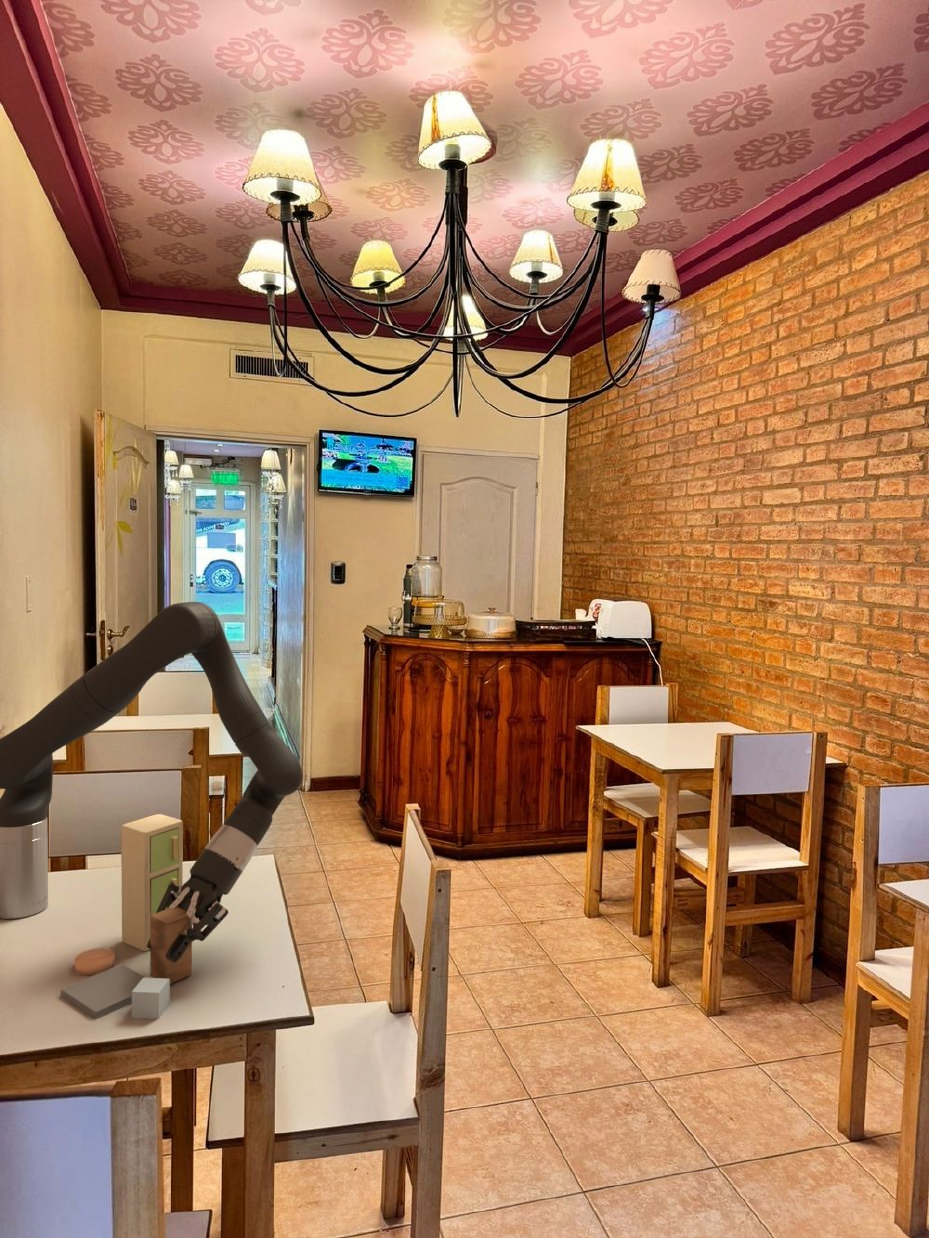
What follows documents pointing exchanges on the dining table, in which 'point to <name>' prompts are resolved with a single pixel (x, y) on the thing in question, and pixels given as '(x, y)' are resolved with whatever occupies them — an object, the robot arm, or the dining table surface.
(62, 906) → the dining table surface
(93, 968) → the orange disc
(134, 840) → the toy refrigerator
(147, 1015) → the grey cube
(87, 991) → the slate coaster
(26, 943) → the dining table surface
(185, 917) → the walnut block
